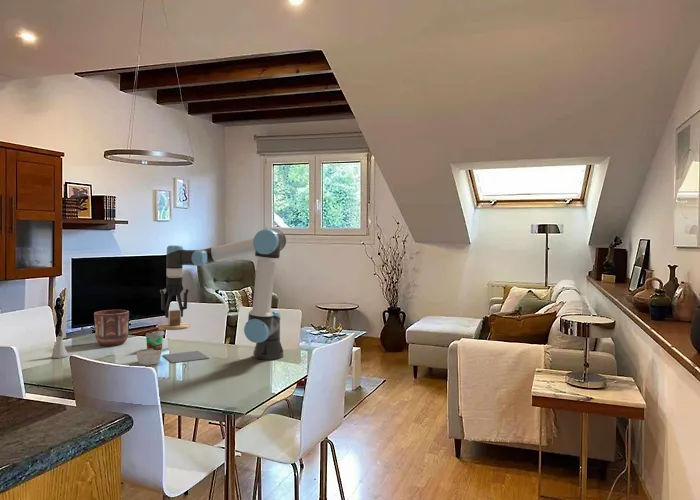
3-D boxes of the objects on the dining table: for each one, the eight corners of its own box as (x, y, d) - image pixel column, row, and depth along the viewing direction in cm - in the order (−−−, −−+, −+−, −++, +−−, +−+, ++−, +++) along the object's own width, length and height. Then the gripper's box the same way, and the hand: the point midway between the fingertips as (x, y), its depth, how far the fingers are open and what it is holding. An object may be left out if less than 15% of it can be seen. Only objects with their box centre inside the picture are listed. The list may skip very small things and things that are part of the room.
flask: (71, 356, 272) (71, 336, 271) (58, 359, 265) (58, 339, 265) (61, 354, 275) (61, 335, 274) (48, 357, 268) (48, 337, 268)
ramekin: (153, 359, 267) (153, 348, 267) (166, 362, 260) (165, 351, 260) (132, 363, 259) (131, 352, 258) (144, 367, 251) (144, 355, 251)
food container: (156, 352, 280) (156, 333, 280) (145, 352, 281) (145, 333, 281) (168, 347, 292) (168, 329, 292) (158, 347, 293) (158, 328, 293)
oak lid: (193, 328, 265) (193, 312, 264) (161, 331, 257) (162, 314, 256) (185, 323, 277) (185, 308, 277) (155, 325, 270) (155, 309, 269)
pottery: (118, 339, 313) (117, 308, 312) (135, 343, 303) (135, 311, 302) (88, 344, 298) (87, 312, 298) (105, 349, 288) (104, 315, 287)
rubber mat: (209, 358, 268) (209, 357, 268) (172, 363, 258) (172, 362, 258) (197, 351, 283) (197, 350, 283) (162, 355, 273) (162, 354, 273)
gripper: (190, 275, 274) (189, 321, 275) (154, 276, 265) (153, 324, 266) (194, 276, 267) (194, 323, 268) (157, 278, 258) (157, 326, 259)
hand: (174, 323), depth 267 cm, fingers closed on oak lid, 4 cm apart
